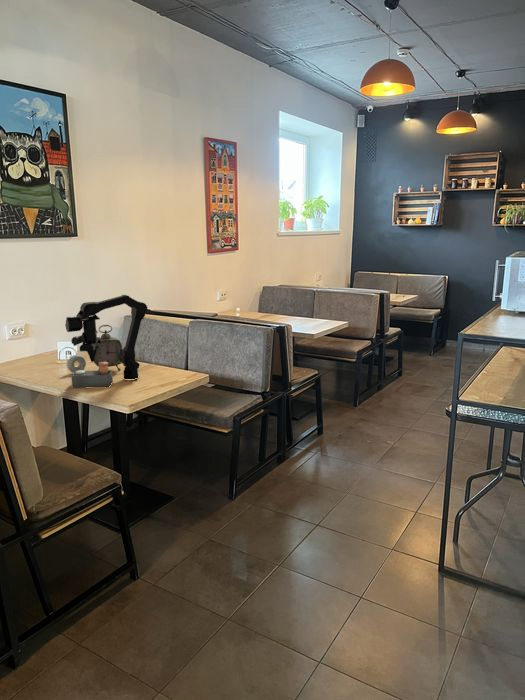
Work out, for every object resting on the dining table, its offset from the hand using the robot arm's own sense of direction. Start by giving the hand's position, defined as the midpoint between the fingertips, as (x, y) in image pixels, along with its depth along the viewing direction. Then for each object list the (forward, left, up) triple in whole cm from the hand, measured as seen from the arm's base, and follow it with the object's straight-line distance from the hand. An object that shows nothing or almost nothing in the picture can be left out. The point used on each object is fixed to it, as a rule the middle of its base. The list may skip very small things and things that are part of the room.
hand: (92, 361), depth 244 cm
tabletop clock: (-1, -26, -12) cm, 29 cm away
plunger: (+6, 0, -10) cm, 12 cm away
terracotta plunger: (-5, 0, -6) cm, 8 cm away
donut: (+14, -23, -12) cm, 29 cm away
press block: (+1, 0, -12) cm, 12 cm away
